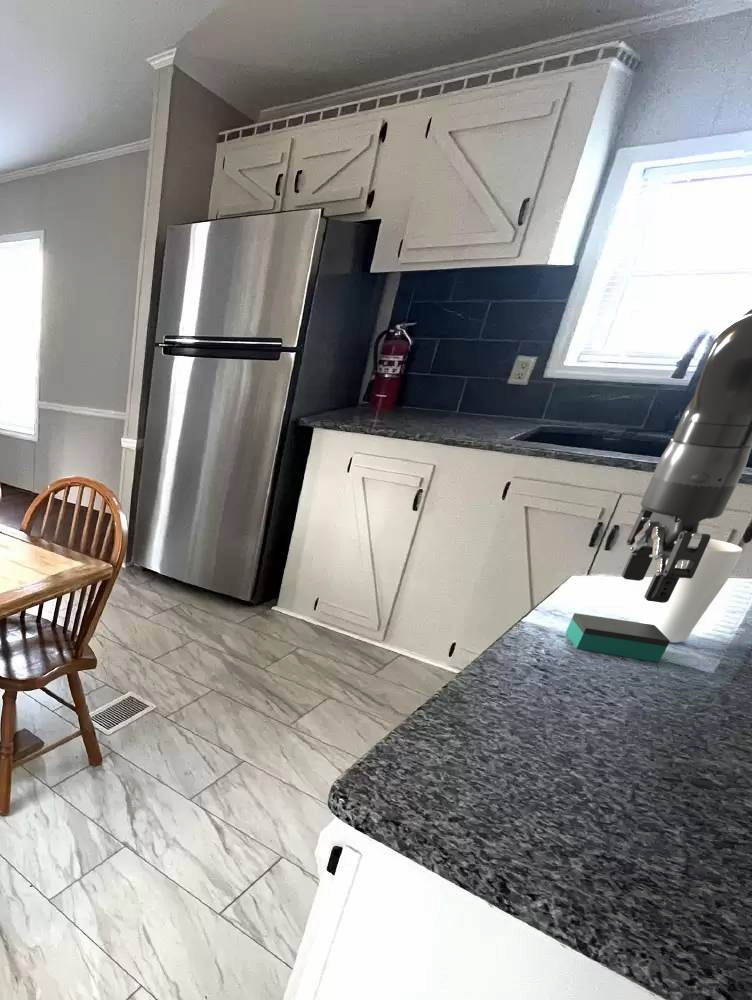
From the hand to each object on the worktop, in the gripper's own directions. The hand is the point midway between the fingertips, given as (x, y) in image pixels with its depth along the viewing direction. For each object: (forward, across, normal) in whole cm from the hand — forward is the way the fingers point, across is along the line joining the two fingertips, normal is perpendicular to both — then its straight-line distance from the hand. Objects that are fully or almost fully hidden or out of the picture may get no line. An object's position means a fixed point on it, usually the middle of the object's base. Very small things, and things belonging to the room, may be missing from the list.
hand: (642, 589), depth 90 cm
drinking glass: (+10, +8, -7) cm, 14 cm away
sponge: (+10, 0, +1) cm, 10 cm away
